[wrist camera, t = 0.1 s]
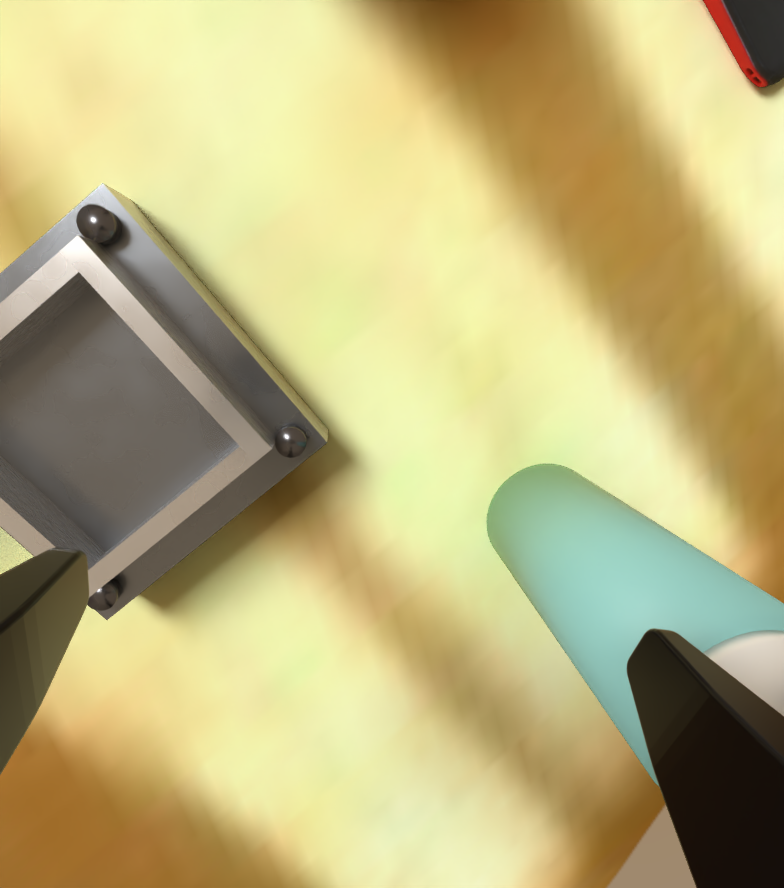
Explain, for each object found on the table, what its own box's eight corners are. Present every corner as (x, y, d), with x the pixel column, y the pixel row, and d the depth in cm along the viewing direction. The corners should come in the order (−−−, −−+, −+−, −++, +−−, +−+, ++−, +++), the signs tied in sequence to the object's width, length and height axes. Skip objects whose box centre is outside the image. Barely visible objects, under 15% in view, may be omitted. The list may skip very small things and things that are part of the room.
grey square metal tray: (130, 589, 24) (85, 646, 20) (-88, 391, 21) (-194, 408, 17) (328, 429, 23) (326, 454, 19) (131, 199, 20) (76, 167, 16)
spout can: (528, 590, 26) (784, 954, 11) (464, 512, 25) (658, 806, 10) (616, 523, 26) (1006, 806, 11) (556, 440, 24) (908, 631, 9)
